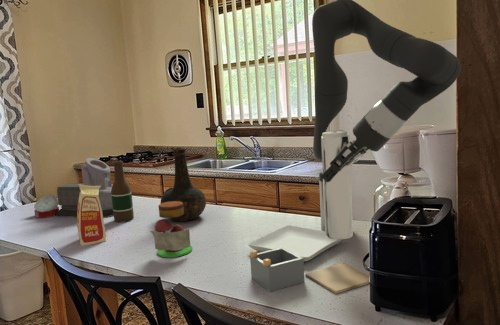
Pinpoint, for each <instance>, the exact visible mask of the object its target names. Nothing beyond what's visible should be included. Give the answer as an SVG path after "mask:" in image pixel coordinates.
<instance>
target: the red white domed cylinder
mask: <svg viewBox="0 0 500 325" xmlns="http://www.w3.org/2000/svg"><path fill="white" fill-rule="evenodd" d="M58 205H59V204H58V196H56V195H54V194H48V195H44V196H42V197H40V198H39V199H37V201H36V202H35V203H34V205H33V206H34V217H35V218H36V219H46V218H47V219H48V218H51V217H52V218H53V217H56V216H55V215H56V213H57V212H58V211H59V210H60V207H59V206H58Z"/></svg>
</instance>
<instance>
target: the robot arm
mask: <svg viewBox="0 0 500 325" xmlns="http://www.w3.org/2000/svg"><path fill="white" fill-rule="evenodd" d="M311 27H312V40H313V49H314V50H313V51H314V71H315V72H314V75H315V76H314V77H315V78H314V129H313V130H314V132H313V146H312V148H313V154H314V156H315V158H316V159H317V160H321V161H322V145H321V137H322V133H324V132H334V131H344V130H343V129H342V130H341V129H339V130H328V128H329V126H330V124H331V123H332V122H333V120H334V119H335V118H336V117H337V116H338V114H340V113H341V111H342V110H343V108H344V106H345V105H346V103H347V101H348V100H347V99H348V87H349V85H348V84H349V80H348V77H347V74H346V73H345V71H344V70H343V69H342V67H341V65H339V63H338V61H337V60H336V58H335V44H336V41H337V40H340V39H343V38H344V37H345V38H346V37H348V36H350V35H351V34H355V35H360V36H362V37H365V38H366V40H367V42H368V45H369V48H370V49H371V51H372V52H373V53H374V54H375V55H376V56H377V58H378V57H379V58H380V59H381V60H383V61H385V62H387V63H390V64H391V65H394V66H396V67H397V68H400V69H404V70H406V71H408V72H409V73H411V74H412V75H414V76H415V77H414V78H413V79H412V80H409V81H399V82H397V83H396V84H395V85H393V87H391V88H390V89H389V91H387V93H386V94H385V95H384V96H383V97H382V98H381V99H380V100H379V101H378V102H377V103H376V104H374V105H373V106H372V107H371V108H370V110H369V111H367V112H366V113H365V115H363V117H362V118H361V119H360V121H358V123H357V124H355V126H353V128H352V133H353V136H355V140H353V141H350V142H349V143H348V144H347V145H346V146H345V147H344V148H343V149H342V151H341V152H340V153H339V154H338V155H337V156H336V157H335V158H334V160H333V161H331V162H330V165H331V166H330V167H329V168H328V169H327V170H326V171H325V172H324V174H323V169H322V170H321V171H320V172H319V175H318V178H319V182H318V184H319V203H320V204H319V205H320V207H319V208H320V231H325V214H324V191H323V179H324V180H325V181H326V182H329V181H330V180H331V179H332V178H333V177H334V176H335V175H336V174H337V173H338V172H340V171H341V170H342V169H343V168H344V167H345V166H349V165H350V164H351V166H352V165H354V164H356V163H357V162H358V161H359V160H360V159H361V158H362V157H363V156H365V155H366V154H367V152H368V150H370V151H372V152H375V153H376V152H378V151H380V150H382V148H383V147H384V146H385V145H386V144H387V143H388V142H389V141H390V140H391V139H392V138H393V137H394V136H395V135H396V134H397V133H398V132H400V130H401V128H402V127H403V126H404V124H405V123H406V122H407V121H408V120H410V119H411V117H412V116H413V115H414V114H415V113H416V112H417V111H418V110H419V109H420V108H421V107H422V106H424V105H425V104H427V103H428V102H430V101H432V100H433V99H435V98H436V97H437V96H439V95H440V94H442V93H444V92H445V91H446V90H448V89H449V88H450V87H451V86H452V85H453V84H454V83H455V82H456V80H457V79H458V78H459V75H460V73H461V70H462V65H461V64H462V63H461V61H460V59H459V57H457V56H456V55H455V54H454V53H452V52H451V51H450V50H448V49H446V47H444V46H442V45H441V44H438V43H436V42H433V41H431V40H428V39H424V38H421V37H416V36H414V35H412V34H411V33H408V32H406V31H403V30H401V29H399V28H396V27H394V26H393V25H390V24H389V23H386V22H385V21H383V20H381V19H380V18H379V17H377V16H376V15H374V14H373V12H370V11H369V10H367V9H366V8H365V7H364V6H362V5H361V4H359V3H358V2H356V1H354V0H333V1H330V2H327V3H325V4H322V5H319V6H318V7H317V8H316V9H314V12H313V14H312V21H311ZM338 161H340V162H341V165H340V166H339V165H338V164H337V162H338ZM348 161H349V162H348ZM352 167H353V166H352Z"/></svg>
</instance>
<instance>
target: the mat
mask: <svg viewBox="0 0 500 325" xmlns="http://www.w3.org/2000/svg"><path fill="white" fill-rule="evenodd" d="M369 276H370V274H367V273H365V272H363V271H361V270H359V269H357V268H355V267H353V266H350V265H349V264H347V263H344V262H342V263H339V264H335V265H332V266H329V267H324V268H321V269H318V270H314V271H310V272H306V273H305V277H307V278H308V279H310V280H311V281H313V282H315V283H316V284H319V285H321V287H323V288H325V289H327V290H328V291H330V292H332V293H334V295H336V294H340V293H342V292H346V291H349V290H352V289H355V288H359V287H363V286H365V285H367V284H368V285H369V284H370V283H369Z"/></svg>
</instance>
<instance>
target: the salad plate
mask: <svg viewBox="0 0 500 325" xmlns="http://www.w3.org/2000/svg"><path fill="white" fill-rule="evenodd" d="M342 240H343V239H341V240H337V239H330V238H328V237H326V235H325V231H321V229H320V230H319V229H313V228H308V227H302V226H297V225H292V224H288V225H285V226H282V227H280V228H277V229H275V230H274V231H271V232H270V233H267V234H265V235H264V236H261V237H259V238H256V239H255V240H253V241H250V242H249V243H247V245H248V247H250V248H251V249H252V250H253V251H254V250H255V251H257V252H259V253H261V252H265V251H269V250H273V249H278V248H282V247H283V248H285V249H287V250H289V251H291V252H293V253H295V254H296V255H298V256H300V257H302V258H303V260H304V262H308V261H310V260H312V259H313V258H315V257H316V256H318V255H321V254H322V253H323V252H325V251H326V250H328V249H330V248H332V247H334V246H336V245H337V244H339V243H340V242H341V241H342Z"/></svg>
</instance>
